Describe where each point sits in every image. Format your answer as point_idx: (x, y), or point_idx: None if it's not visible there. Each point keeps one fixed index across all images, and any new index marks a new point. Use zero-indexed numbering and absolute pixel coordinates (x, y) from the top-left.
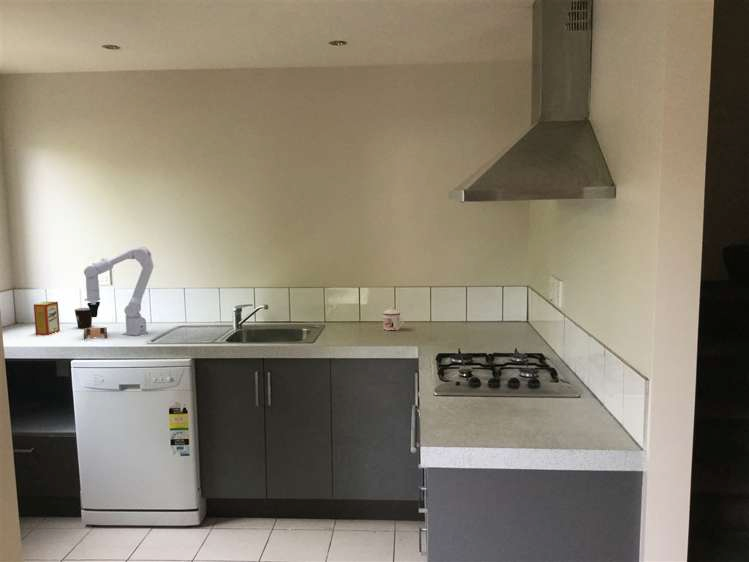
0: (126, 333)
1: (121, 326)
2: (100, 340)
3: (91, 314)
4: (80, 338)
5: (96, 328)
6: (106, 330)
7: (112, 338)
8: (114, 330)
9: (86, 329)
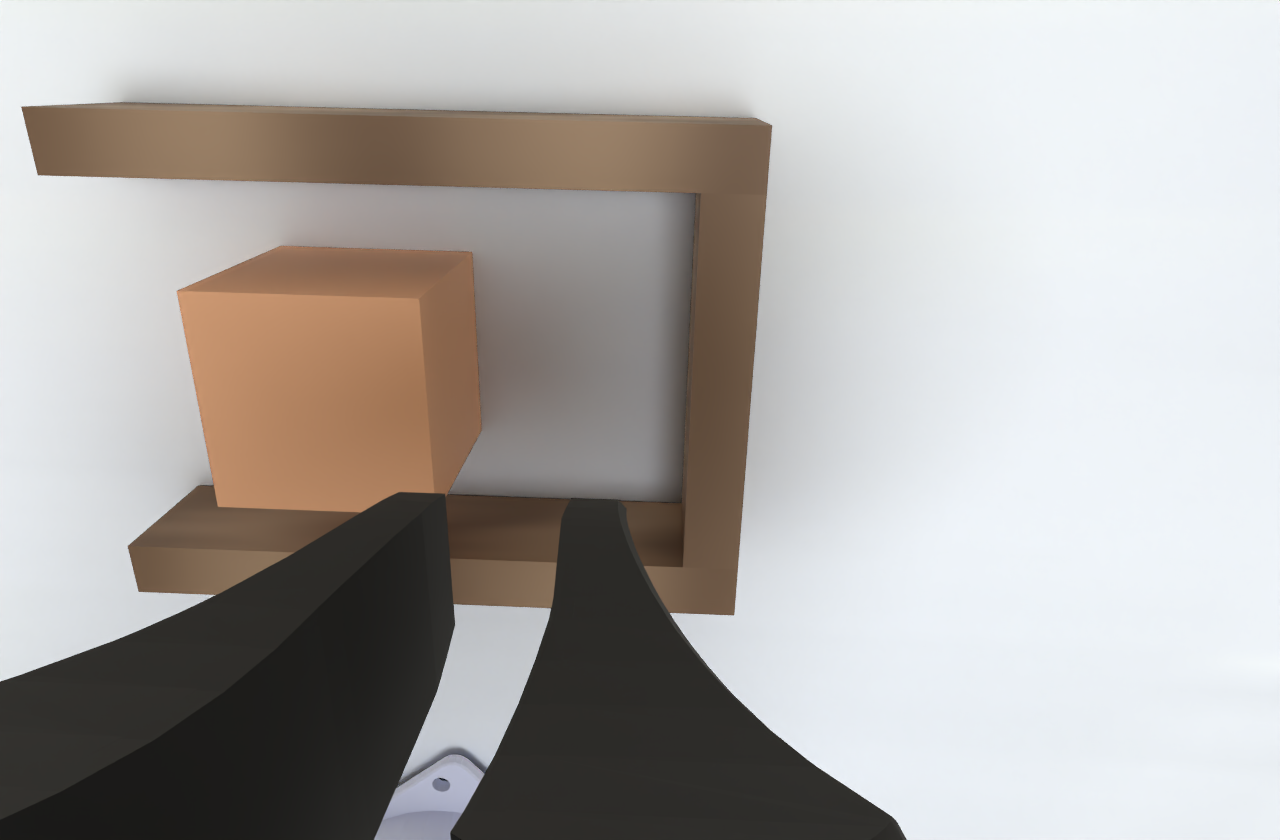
0: (406, 807)
1: (1253, 787)
2: (27, 411)
3: (336, 531)
4: (364, 25)
5: (324, 436)
6: None
7: (160, 596)
8: (921, 668)
9: (675, 188)
